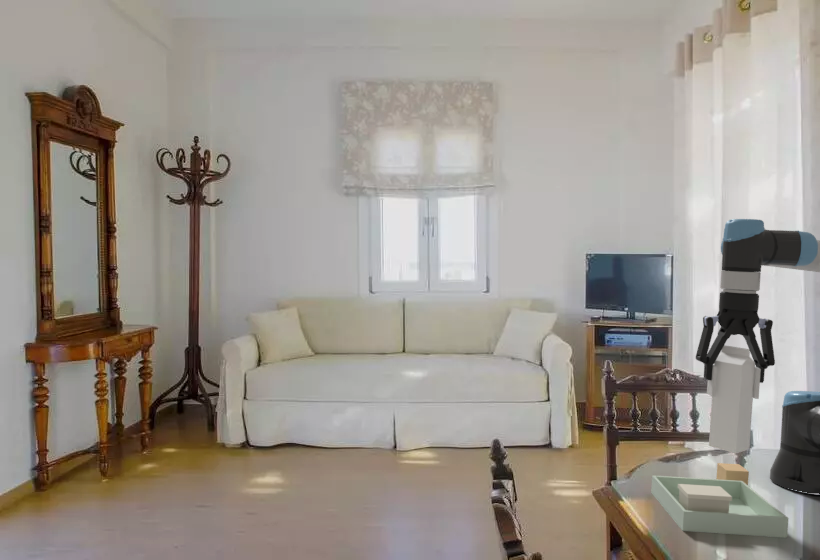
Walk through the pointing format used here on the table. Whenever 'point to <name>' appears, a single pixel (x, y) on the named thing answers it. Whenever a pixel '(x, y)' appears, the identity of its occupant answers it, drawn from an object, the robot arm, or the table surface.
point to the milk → (732, 400)
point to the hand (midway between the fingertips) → (732, 396)
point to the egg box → (704, 498)
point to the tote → (743, 517)
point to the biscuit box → (732, 472)
